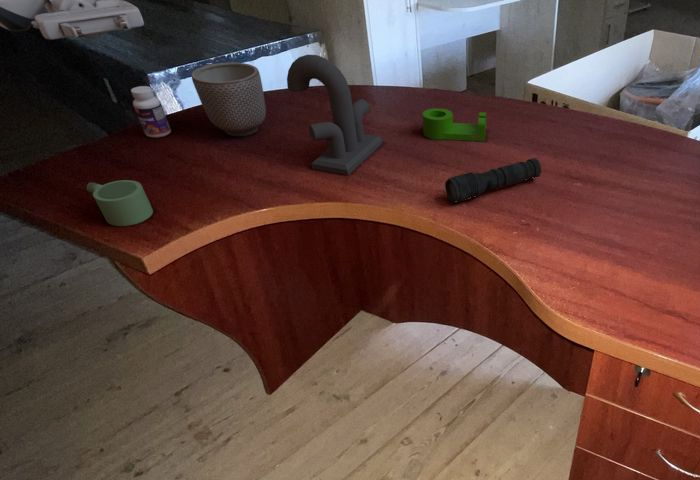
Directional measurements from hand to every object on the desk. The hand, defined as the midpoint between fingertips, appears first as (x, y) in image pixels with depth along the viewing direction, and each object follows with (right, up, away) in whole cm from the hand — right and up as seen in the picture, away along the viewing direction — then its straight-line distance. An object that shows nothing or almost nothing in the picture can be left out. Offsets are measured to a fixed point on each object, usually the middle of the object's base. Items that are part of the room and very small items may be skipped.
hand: (102, 29), depth 116 cm
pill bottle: (+8, -20, +7) cm, 23 cm away
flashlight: (+85, -37, -5) cm, 93 cm away
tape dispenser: (+75, -18, +14) cm, 79 cm away
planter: (+26, -18, +10) cm, 33 cm away
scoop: (+16, -44, -17) cm, 50 cm away
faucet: (+49, -26, +4) cm, 56 cm away
